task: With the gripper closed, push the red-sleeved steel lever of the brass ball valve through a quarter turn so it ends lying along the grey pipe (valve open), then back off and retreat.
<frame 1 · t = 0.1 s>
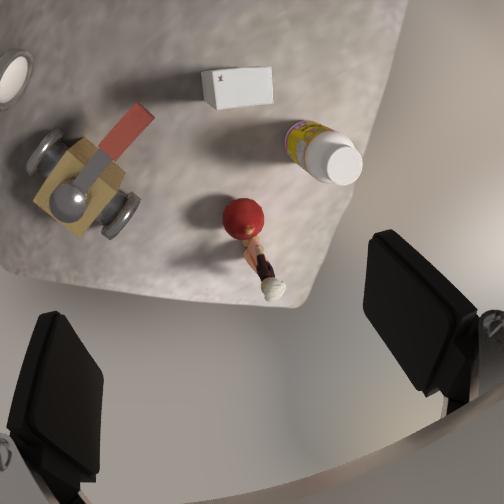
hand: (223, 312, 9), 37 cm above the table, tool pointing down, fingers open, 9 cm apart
grandmother figurine: (253, 247, 53), on the table
lever: (97, 164, 31), point 9 cm above the table, hinge at 90.0°
valve: (87, 175, 40), on the table
pipe fitting: (0, 70, 29), on the table
supplement bottle: (303, 141, 45), on the table
skincare box: (224, 83, 39), on the table
onion: (238, 208, 49), on the table
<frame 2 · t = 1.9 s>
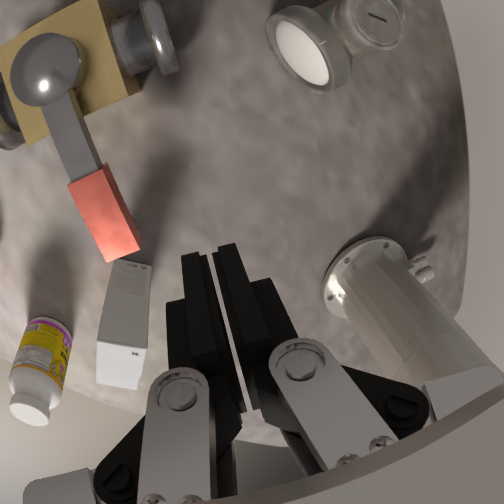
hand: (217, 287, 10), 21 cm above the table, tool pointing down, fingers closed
lever: (76, 146, 17), point 9 cm above the table, hinge at 90.0°
valve: (86, 69, 22), on the table
pipe fitting: (327, 32, 25), on the table
supplement bottle: (50, 332, 35), on the table
skincare box: (128, 282, 34), on the table
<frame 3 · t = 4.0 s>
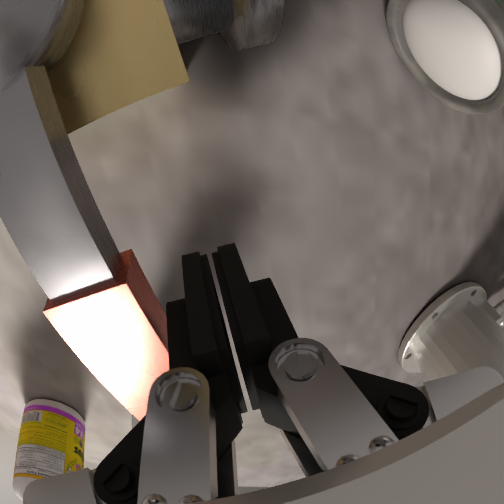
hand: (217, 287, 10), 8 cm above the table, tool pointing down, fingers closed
lever: (55, 215, 7), point 9 cm above the table, hinge at 87.6°, touching gripper
valve: (82, 41, 12), on the table
pipe fitting: (446, 22, 14), on the table
supplement bottle: (55, 412, 25), on the table
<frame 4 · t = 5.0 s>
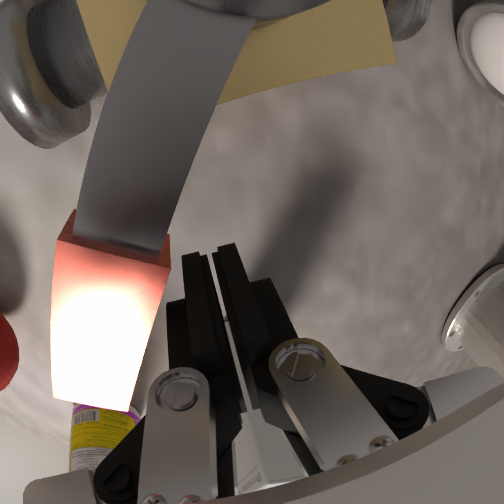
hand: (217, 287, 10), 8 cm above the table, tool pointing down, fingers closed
lever: (140, 156, 6), point 9 cm above the table, hinge at 49.7°, touching gripper
valve: (202, 9, 12), on the table
pipe fitting: (494, 33, 15), on the table
supplement bottle: (107, 410, 25), on the table
skincare box: (236, 348, 24), on the table
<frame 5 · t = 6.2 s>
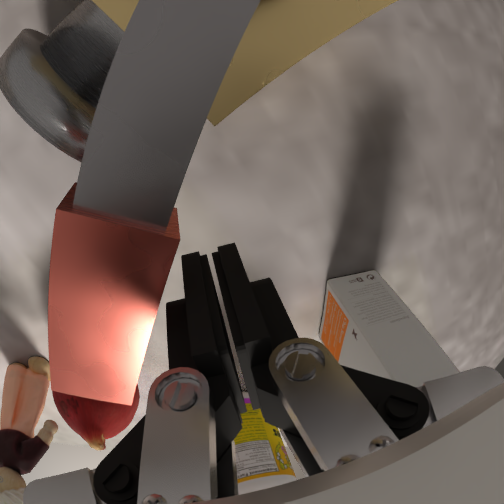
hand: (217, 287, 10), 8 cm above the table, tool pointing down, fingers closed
grandmother figurine: (28, 369, 20), on the table
lever: (147, 121, 6), point 9 cm above the table, hinge at 28.4°, touching gripper
supplement bottle: (232, 406, 28), on the table
skincare box: (343, 303, 24), on the table
onion: (99, 348, 21), on the table
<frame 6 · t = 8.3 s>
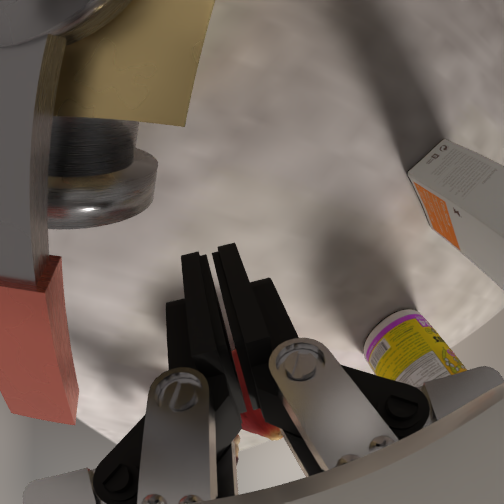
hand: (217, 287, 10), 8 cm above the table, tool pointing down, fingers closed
lever: (6, 193, 6), point 9 cm above the table, hinge at -1.5°
valve: (115, 17, 11), on the table
supplement bottle: (390, 332, 28), on the table
skincare box: (435, 185, 20), on the table
onion: (244, 347, 24), on the table
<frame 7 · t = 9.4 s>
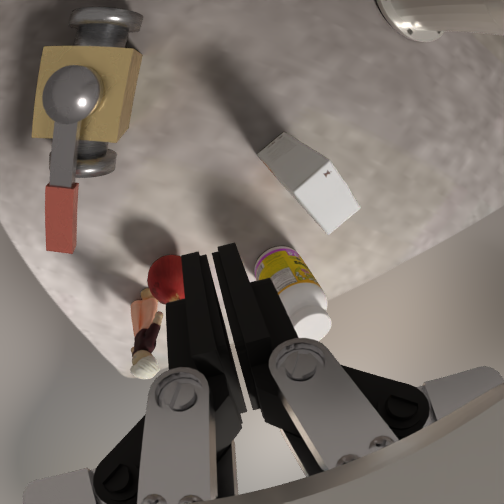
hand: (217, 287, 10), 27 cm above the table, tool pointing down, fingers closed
grandmother figurine: (144, 303, 43), on the table
lever: (64, 161, 22), point 9 cm above the table, hinge at -1.5°
valve: (98, 88, 28), on the table
supplement bottle: (276, 264, 44), on the table
skincare box: (284, 160, 37), on the table
onion: (171, 262, 40), on the table
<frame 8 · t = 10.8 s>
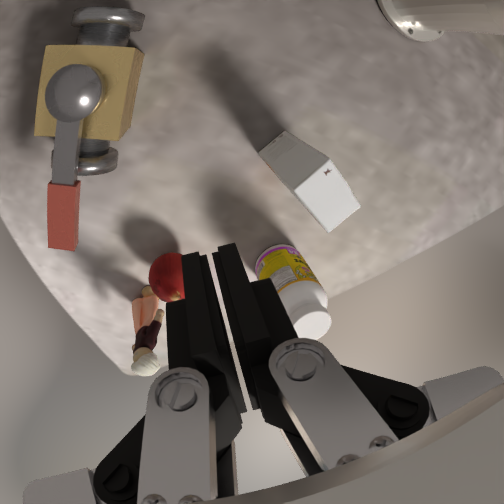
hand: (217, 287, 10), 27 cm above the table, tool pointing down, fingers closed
grandmother figurine: (145, 300, 43), on the table
lever: (66, 159, 22), point 9 cm above the table, hinge at -1.5°
valve: (100, 87, 28), on the table
supplement bottle: (277, 262, 45), on the table
skincare box: (285, 159, 37), on the table
onion: (172, 259, 41), on the table
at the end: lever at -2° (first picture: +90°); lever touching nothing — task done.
